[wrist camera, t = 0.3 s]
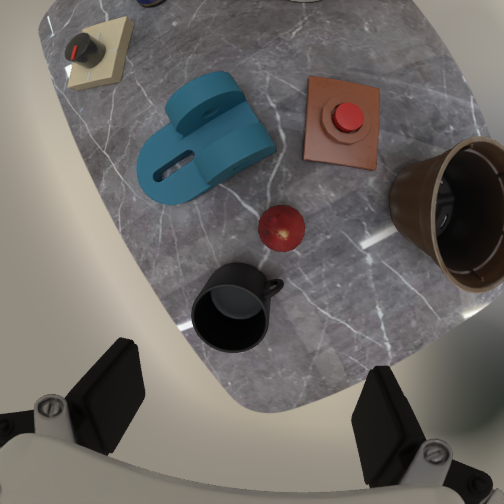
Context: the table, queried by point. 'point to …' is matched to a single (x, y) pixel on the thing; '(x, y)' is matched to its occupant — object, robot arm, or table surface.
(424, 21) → the table surface
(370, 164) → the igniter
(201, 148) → the bracket
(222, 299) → the mug
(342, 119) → the button
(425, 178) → the plant pot
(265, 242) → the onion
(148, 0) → the pill bottle
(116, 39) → the beige rectangular block
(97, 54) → the knob
